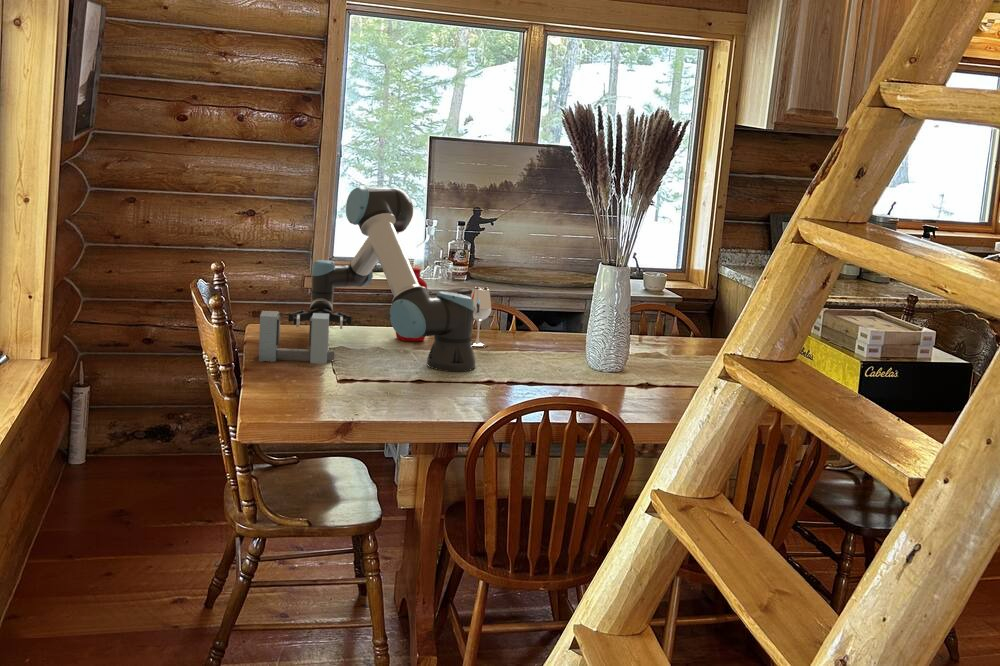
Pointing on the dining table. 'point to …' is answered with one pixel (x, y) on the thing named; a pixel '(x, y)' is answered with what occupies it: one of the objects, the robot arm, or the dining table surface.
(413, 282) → the robot arm
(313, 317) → the tall grey-blue pillar
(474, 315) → the wineglass
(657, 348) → the dining table surface
